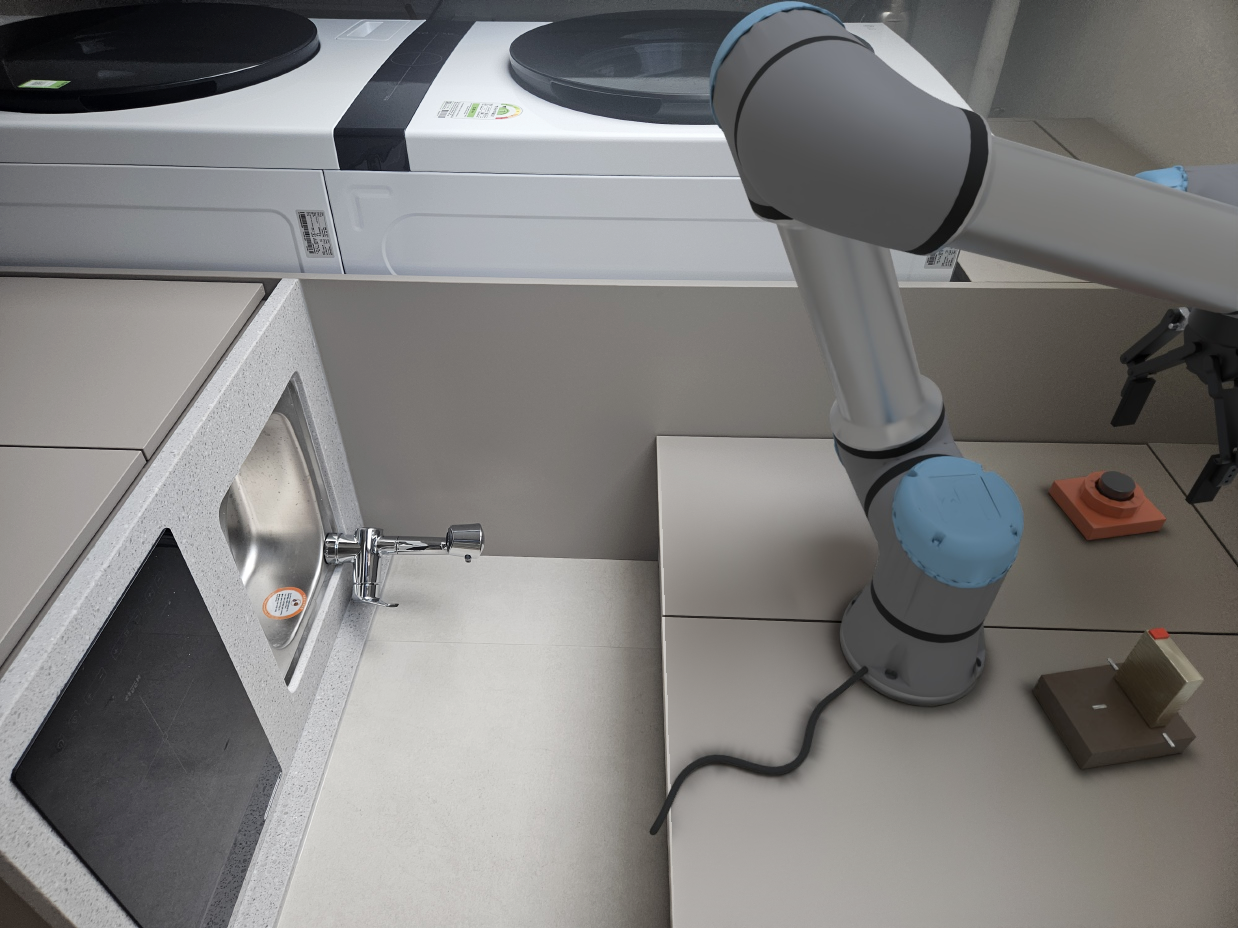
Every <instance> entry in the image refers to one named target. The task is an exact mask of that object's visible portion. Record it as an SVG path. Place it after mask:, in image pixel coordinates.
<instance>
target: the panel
mask: <svg viewBox="0 0 1238 928" xmlns="http://www.w3.org/2000/svg"><path fill="white" fill-rule="evenodd" d="M1106 660H1107V662H1108V663H1109V664H1104V665H1098V666H1091V667H1090V666H1089V667H1084V668H1078V669H1071V670H1065V671H1058V672H1052V673H1044V674H1041V675H1040V676H1039V678H1038V680H1037V682H1036V683H1035V685H1034V687H1033V689H1032V693H1033V695H1034V697H1035V698H1036V699H1037V701H1038V703H1039V704H1040V706H1041V708H1042V709H1043V711H1044V713H1045V715H1046V716H1047V717H1048V719H1049V720H1050V722H1051V724H1052V725H1053V727H1054V728H1055V730H1056V732H1057V734H1058V735H1059V736H1060V738H1061V741H1063V743H1064V745H1065V746H1066V748H1067V749H1068V751H1069V752H1070V754H1071V756H1072V758H1073V759H1074V760H1075V762H1076V763H1077V765H1078V767H1079V768H1080V770H1086V769H1091V768H1093V769H1094V768H1097V767H1104V766H1110V765H1117V764H1121V763H1127V762H1134V761H1139V760H1145V759H1152V758H1157V757H1164V756H1169V755H1176V754H1181V753H1182V754H1183V753H1184V751H1185V750H1186V749H1188V747H1189V746H1190V745H1191V744H1192V743H1193V741H1194V740H1195V739H1196V738H1197V735H1196V734H1195V733H1194V731H1193V730H1192V729H1191V727H1190V726H1189V725H1188V724H1187V722H1186V721H1185V720H1184V718H1183V717H1182V716H1181V715H1180V713H1179V712H1178V713H1177V714H1176V715H1175V716H1174V717H1173V719H1172V720H1171V721H1170V722H1169V724H1168V725H1167V726H1162V727H1155V728H1150V727H1149V726H1148V724H1147V723H1146V721H1145V720H1144V719H1143V717H1142V716H1141V714H1140V713H1139V712H1138V710H1137V709H1136V707H1135V706H1134V705H1133V703H1132V702H1131V701H1130V699H1129V698H1128V696H1127V695H1126V694H1125V692H1124V691H1123V689H1122V688H1121V687H1120V685H1119V684H1118V682H1117V681H1116V680H1115V678H1114V676H1115V674H1116V673H1117V671H1118V670H1119V668H1120V667H1121V665H1122V664H1123V662H1117V663H1115V662H1114V661H1113V659H1112V658H1111V657H1109V658H1108V657H1107V659H1106Z"/></svg>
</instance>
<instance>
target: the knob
mask: <svg viewBox="0 0 1238 928" xmlns="http://www.w3.org/2000/svg"><path fill="white" fill-rule="evenodd" d="M1122 663H1123V664H1122V665H1121V667H1120V668H1119V670H1118V671H1117V673H1116V674H1115V676H1114V678H1115V680H1116V681H1117V682H1118V684H1119V685H1120V687H1121V688H1122V689H1123V691H1124V692H1125V694H1126V695H1127V696H1128V698H1129V699H1130V701H1131V702H1132V703H1133V705H1134V706H1135V707H1136V709H1137V710H1138V712H1139V713H1140V714H1141V716H1142V717H1143V719H1144V720H1145V721H1146V723H1147V724H1148V726H1149V727H1150V728H1155V727H1162V726H1167V725H1168V724H1169V722H1170V721H1171V720H1172V719H1173V717H1174V716H1175V715H1176V714H1177V713H1179V711H1180V710H1181V709H1182V708H1183V706H1184V705H1186V703H1187V701H1189V699H1190V698H1191V697H1192V696H1193V694H1194V693H1195V692H1196V690H1197V689H1198V688H1199V687H1200V686H1201V685H1202V684H1203V682H1204V681H1205V678H1204V677H1203V676H1202V675H1201V673H1200V672H1199V671H1198V670H1197V668H1196V667H1195V666H1194V665H1193V663H1191V661H1190V660H1189V658H1188V657H1187V656H1186V655H1185V654H1184V653H1183V651H1181V649H1180V647H1178V645H1177V644H1176V643H1175V642H1174V639H1172V638H1171V635H1170V634H1169V633H1168V632H1167V630H1166V629H1165V628H1164V627H1157V628H1152V629H1145V630H1144V632H1143V633H1142V635H1141V636H1140V637H1139V639H1138V640H1137V642H1136V643H1135V644H1134V646H1133V648H1132V649H1131V651H1130V652H1129V654H1128V655H1127V656H1126V658H1125V660H1124V661H1123V662H1122Z"/></svg>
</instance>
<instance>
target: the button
mask: <svg viewBox="0 0 1238 928" xmlns="http://www.w3.org/2000/svg"><path fill="white" fill-rule="evenodd" d="M1106 471H1107V470H1106ZM1121 472H1122V471H1116V470H1108V471H1107V472H1105V473H1103V474H1102V475H1101V477H1100V479H1099V481H1098V483H1097V485H1096V488H1097V491H1098V492H1099V493H1100V494H1101V495H1103V496H1105V497H1107V498H1108V499H1110V500H1115V501H1119V502H1123V501H1127V500H1128V499H1130V497H1131V495H1132V493H1133V492H1134V490H1135V488H1136V484H1135V482H1136V481H1135V480H1134V479H1133V478H1132V477H1130V476H1129V475H1127V474H1126V473H1124V472H1123V473H1124V474H1123V473H1121ZM1134 481H1135V482H1134Z"/></svg>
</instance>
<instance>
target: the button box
mask: <svg viewBox="0 0 1238 928" xmlns="http://www.w3.org/2000/svg"><path fill="white" fill-rule="evenodd" d="M1105 472H1107V470H1101V471H1092V472H1090V473H1089V474H1088V475H1087V476H1080V477H1071V478H1064V479H1055V480H1053V482H1052V484H1051V486H1050V488H1049V491H1048V494H1049V495H1050V496H1051V498H1052V499H1053V501H1055V502H1056V504H1057V505H1058V506H1059V507H1060V508H1061V510H1062V511H1063V512H1064V514H1065V515H1066V516H1067V517H1068V518H1069V520H1070V521H1071V522H1072V523H1073V524H1074V526H1075V527H1076V528H1077V530H1078V531H1079V532H1080V533H1081V534H1082V536H1083V537H1084V538H1085V539H1086V540H1087V541H1093V540H1101V539H1109V538H1115V537H1123V536H1130V535H1137V534H1144V533H1152V532H1159V531H1161V529H1162V528H1163V526H1164V524H1165V523H1166V521H1167V517H1166V515H1164V514H1163V513H1162V512H1161V511H1160V510H1159V509H1158V507H1156V506H1155V505H1154V503H1153V502H1152V501H1151V500H1150V499H1149V498H1148V497H1147V496H1146V495H1145V492H1144V490H1143V488H1142V487H1141V486H1140V485H1139V484H1138V483H1137V482H1136V481H1135V480H1134V482H1135V484H1136V488H1135V490H1134V492H1133V493H1132V495H1131V497H1130V499H1128V500H1127V501H1123V502H1119V501H1115V500H1110V499H1108V498H1107V497H1105V496H1103V495H1101V494H1100V493H1099V492H1098V491H1097V488H1096V485H1097V483H1098V481H1099V479H1100V477H1101V475H1102V474H1103V473H1105ZM1120 472H1121V473H1123V474H1125V473H1124V471H1120Z"/></svg>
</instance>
